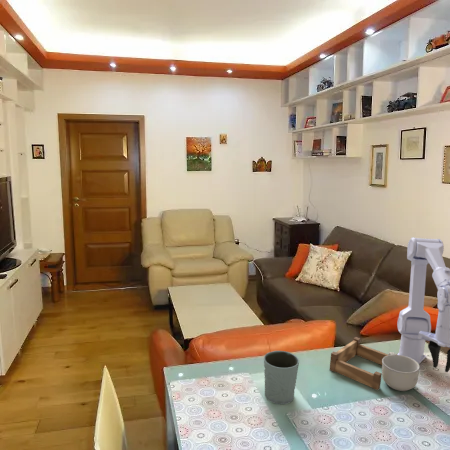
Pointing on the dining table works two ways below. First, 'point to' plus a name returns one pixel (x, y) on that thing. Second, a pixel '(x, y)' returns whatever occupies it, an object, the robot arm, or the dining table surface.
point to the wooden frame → (356, 373)
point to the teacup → (400, 371)
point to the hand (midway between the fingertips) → (441, 368)
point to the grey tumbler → (280, 376)
